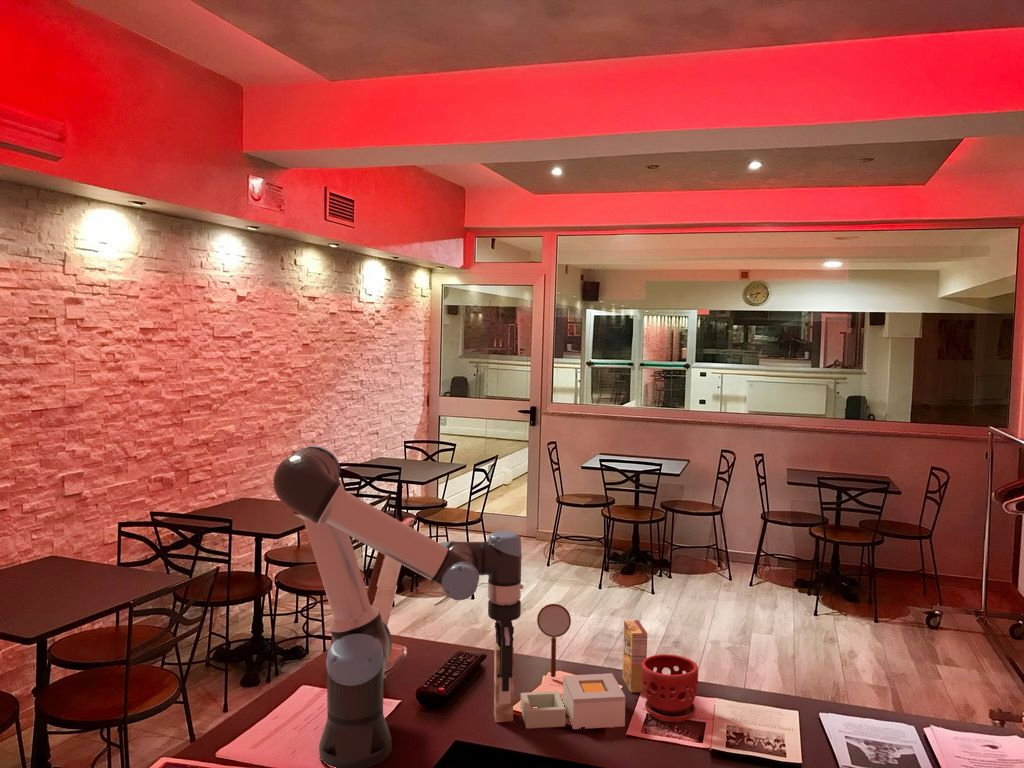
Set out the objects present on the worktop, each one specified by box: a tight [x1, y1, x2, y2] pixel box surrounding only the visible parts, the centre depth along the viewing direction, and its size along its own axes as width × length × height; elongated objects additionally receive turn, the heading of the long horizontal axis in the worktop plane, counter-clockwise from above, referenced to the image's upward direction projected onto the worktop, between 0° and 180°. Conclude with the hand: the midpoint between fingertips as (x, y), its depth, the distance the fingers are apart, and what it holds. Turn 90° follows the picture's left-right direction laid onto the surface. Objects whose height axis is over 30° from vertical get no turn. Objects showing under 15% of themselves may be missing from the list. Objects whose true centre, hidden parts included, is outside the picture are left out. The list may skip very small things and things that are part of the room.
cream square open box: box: [520, 690, 566, 729], centre depth 182 cm, size 9×9×4 cm
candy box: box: [622, 619, 648, 694], centre depth 198 cm, size 9×4×15 cm, turn 6°
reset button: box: [581, 683, 606, 692], centre depth 183 cm, size 5×5×3 cm
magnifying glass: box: [536, 603, 572, 678], centre depth 201 cm, size 9×2×20 cm, turn 85°
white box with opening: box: [562, 672, 626, 730], centre depth 183 cm, size 12×12×7 cm
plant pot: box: [641, 653, 699, 723], centre depth 184 cm, size 13×13×12 cm
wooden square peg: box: [493, 642, 515, 723], centre depth 181 cm, size 4×4×17 cm
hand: (503, 697), depth 181 cm, fingers closed on wooden square peg, 4 cm apart
